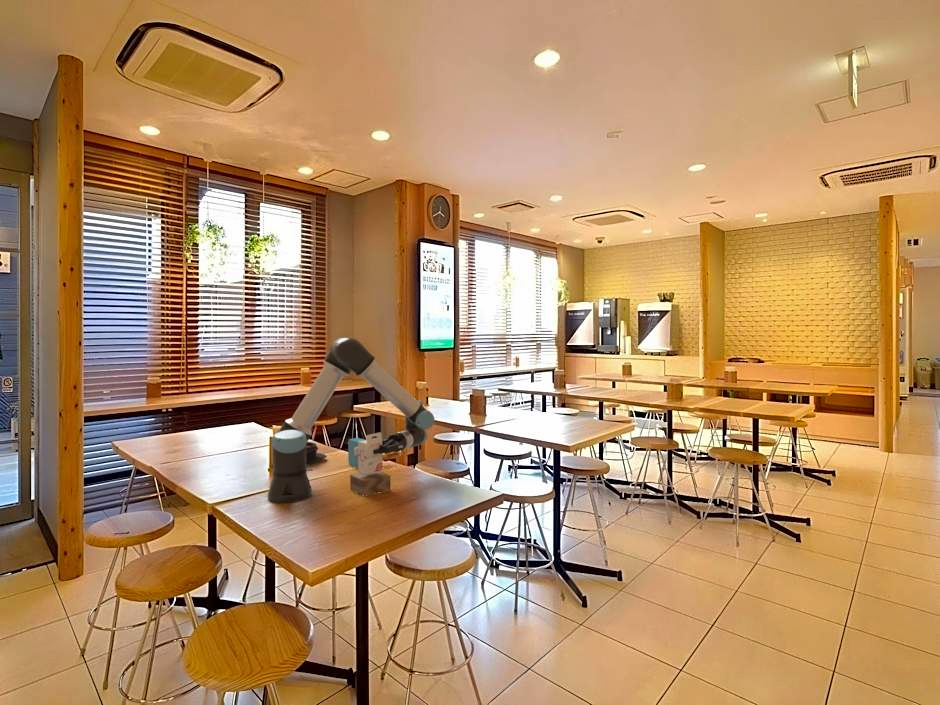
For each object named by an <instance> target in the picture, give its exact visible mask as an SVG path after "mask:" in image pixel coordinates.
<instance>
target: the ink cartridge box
mask: <svg viewBox="0 0 940 705" xmlns="http://www.w3.org/2000/svg"><path fill="white" fill-rule="evenodd" d="M374 437H375V438H374ZM364 440H365V441H361V442H358V469H357V473H364V474H369V473H373V472H376V471H381V470H383V453H382V454H380V453H379V454H377V455H374V456H370V457H366V450H367V449H371V448H374V447H379V448H380V445H382V440H383V434H382V432H381V431H380V432H376V433H371V434H367V435H366V439H364Z"/></svg>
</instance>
